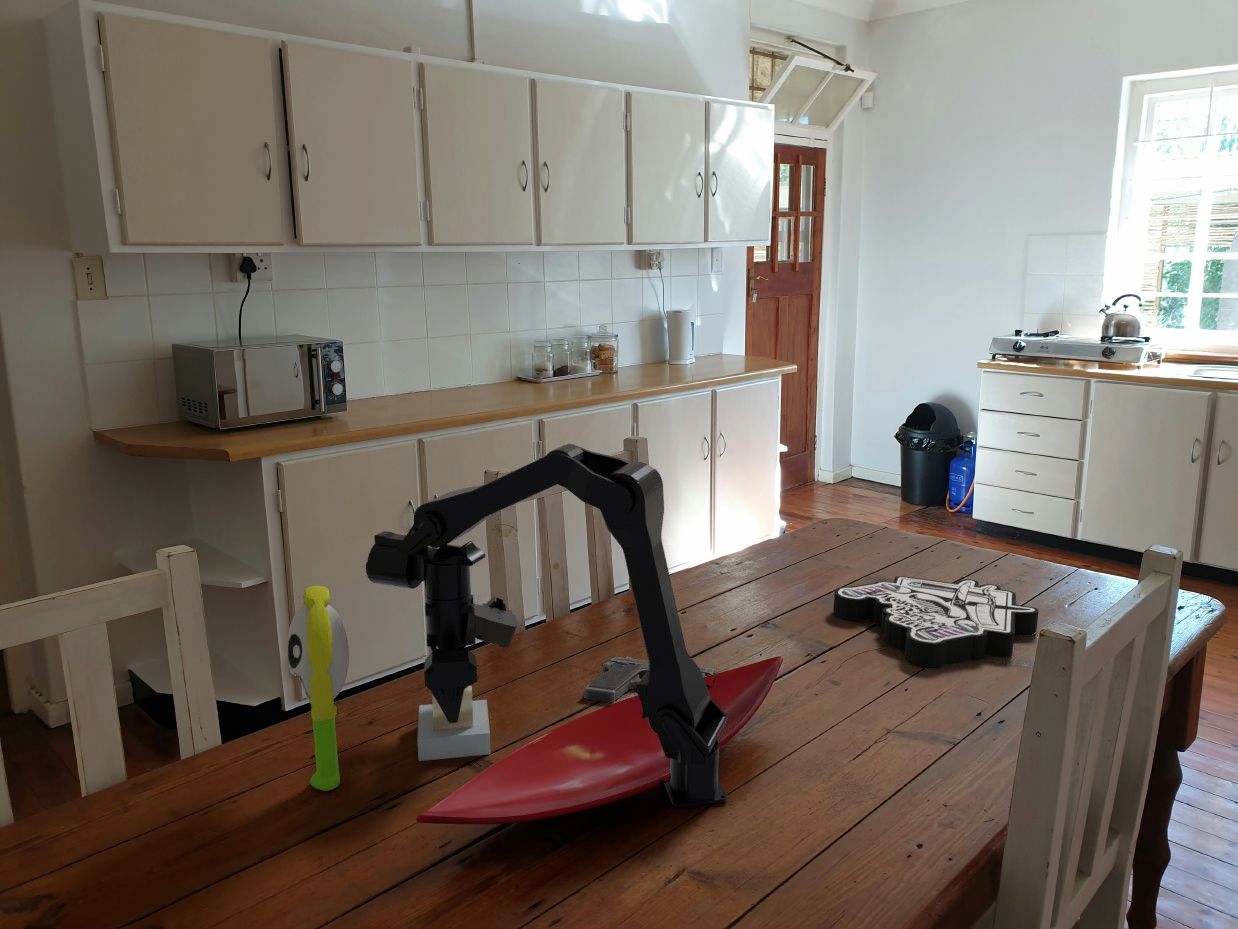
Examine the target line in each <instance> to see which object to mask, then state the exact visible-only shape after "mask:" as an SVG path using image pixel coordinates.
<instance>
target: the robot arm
mask: <svg viewBox="0 0 1238 929" xmlns="http://www.w3.org/2000/svg"><path fill="white" fill-rule="evenodd" d="M557 485H558V486H560V487H563V488H565V489H566V490H568V491H569V492H570V493H571V494H573V496H575V497H576V498H578V499H579V500H580V501H581V502H583V503H584V504H587V505H590V506H591V507H594V508H596V509H599V510H600V513H601V516H602V518H603V521H604V523H605V526H606V529H607V530H608V532H609V533H610V534H611V535H612V537H613V538H614V540H615V541H616V542H617V543H618V544H619V546H620V548H621V550H622V552H623V555H624V561H625V565H626V569H627V572H628V573H627V574H628V577H629V582H630V586H631V591H632V595H633V599H634V600H633V601H634V604H635V608H636V613H637V618H638V622H639V626H640V630H641V634H642V637H643V638H642V639H643V643H644V644H643V645H644V647H645V651H646V655H647V661H649V670H648V671H647V672H646V674H645V675H644V676H643V678H642V679H641V680H640V681H639V683H638V684H637V685H636V688H635V689H636V691H637V695H638V698H639V700H640V704H641V708H642V712H641V714H642V715H641V719H642V720H645V719H647V723H648V725H649V728H650V729H651V731H652V732H653V733H654V734H656V735H657V737H658V739H659V741H660V745H661V748H662V751H663V754H664V757H666V759H670V764H669V765H670V766H669V767H670V768H669V773H670V775H671V779H670V781H668V782H666V783H663V785H664V787H665V790H666V792H667V795H668V797H669V799H670V801H671V804H672V806H673V807H674V808H683V807H693V806H694V807H695V806H700V805H701V806H702V805H703V806H704V805H710V804H720V803H725V802H727V801H728V796H727V793H725V790H724V788H723V786H722V785H721V782H720V781H719V763H720V762H719V760H720V759H719V758H720V756H719V754H720V742H719V741H718V737H719V736H720V735H721V734H720V733H722V732H723V730H724V728H725V725H726V723H727V721H728V718H729V716H728V715H727V713H726V712H725V711H724V710H723V708H721V706H719V705H718V703H717V701H715V700H714V699H713V698H712V697H711V696H710V695H711V694H710V691H709V689H708V686H706V683H705V681H704V678H703V676H702V673H701V671H700V669H699V668H700V667H699V666H698V664H697V663H696V662H695V661H694V659H693V658H692V657H691V656H690V655H689V652H688V650H687V648H686V642H685V638H684V634H683V629H682V626H681V621H680V616H679V612H678V606H677V603H676V600H675V599H676V598H675V594H674V590H673V589H674V588H673V586H672V581H671V577H670V572H669V568H668V563H667V559H666V554H665V553H666V552H665V548H664V545H663V539H662V532H663V524H664V515H665V501H664V500H665V499H664V498H665V497H664V482H663V478H662V476H661V474H660V472H659V471H658V470H657V468H654V467H653V466H651V465H650V464H648V463H646V462H642V461H632V462H629V461H627V460H625V459H622V458H620V457H617V456H612V455H608V454H603V453H599V452H595V451H590V450H588V449H586V448H583V447H581V446H579V445H575V444H573V443H566V444H563V445H561V446H559V447H557V448H555V449H553V450H551V451H549V452H548V453H546V454H545V455H544V456H543V457H541V458H537V460H534V461H532V462H529V463H528V464H526V465H524V466H521V467H519V468H517V469H515V470H513V471H511V472H509V473H507V474H505V475H502V476H501V477H498V478H496V479H494V480H492V481H489V482H488V483H485V484H481V485H476V486H470V487H464V488H461V489H456V490H453V491H449V492H446V493H444V494H441V495H439V496H438V497H435V498H434V499H431V500H428V501H427V502H425V503H423V504H420V505H418V507H417V508H416V509H415V511H414V517H413V525H412V526H411V527H410V529H409V531H408V532H407V534H399V533H395V532H391V531H388V530H387V531H386V530H383V531H381V532H379V533H377V534H375V535H374V544H373V546H372V547H371V548H370V550H369V553H368V557H367V562H365V572H366V576H367V578H368V580H369V581H370V582H372V583H373V584H379V585H384V586H390V587H392V586H393V587H397V588H405V589H410V590H411V589H412V590H413V589H416V588H418V587H419V586H420V585H421V584H422V582H424V595H425V596H424V597H425V598H424V599H425V600H424V601H425V603H424V604H425V605H424V613H425V618H426V621H425V622H426V623H425V624H426V647H427V648H430V650H431V653H430V654H429V655H428V656H427V657H426V658H425V659H424V668H423V669H424V670H423V672H424V674H423V675H424V687H426V688H427V689H428V690H429V691H430V692H431V695H432V694H433V696H434V697H435V699H436V701H437V702H438V704H439V706H440V708H441V709H442V711H443V713H444V715H445V717H446V718H447V720H448V722H449V723H457V722H458V718H459V713H460V708H461V703H462V698H463V693H464V690H465V689H466V688H467V687H468V686H471V685H472V686H473V685H474V684H475V683H478V667H477V666H478V665H477V656H476V655H475V654H474V653H473V651H471V650H469V649H465V648H467V646H475V645H477V644H476V639H477V640H478V641H479V640H480V641H482V642H484V643H485V642H486V643H490V644H494V645H497V646H499V647H500V648H503V649H509V648H510V646H511V644H512V640H513V639H514V636H515V632H516V630H517V627H518V621H517V617H516V615H515V614H514V613H513V611H512V610H511V609H508V610H507V606H506V601H505V597H500V596H497V595H494V596H493V597H491V598H490V599H489V600H488V601H487V602H486V603H484V602H483V603H482V604H478V603H474V594H472V589H471V588H472V587H471V567H472V566H473V565H476V564H477V563H478V562H480V561H482V560H483V559H485V558H486V553H485V552H484V551H483V550H482V549H481V548H479V547H478V546H476V544H475V543H474V541H473V540H470V541H468V542H465V543H464V544H462V545H455V544H450V543H452V542H454V541H456V540H457V539H459V538H461V537H462V536H464V535H466V534H467V533H469V532H471V531H472V530H474V529H475V528H477V526H479V525H481V524H482V523H483V522H485V521H486V520H487V519H488V518H489V517H491V516H492V515H493V514H495V513H497V512H499V511H502V510H504V509H506V508H508V507H511V506H513V505H515V504H517V503H519V502H521V501H524V500H526V499H528V498H531V497H533V496H534V495H537V494H539V493H542V492H544V491H545V490H546V491H547V490H548V489H550V488H552V487H554V486H557Z"/></svg>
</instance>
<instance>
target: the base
mask: <svg viewBox="0 0 1238 929" xmlns="http://www.w3.org/2000/svg"><path fill="white" fill-rule="evenodd" d="M472 706H473V727H465V728H454V729H443V730H434V725H433V704H431V703H430V704H420V705H418V720H417V722H418V725H417V753H418V762H422V761H433V760H434V761H435V760H442V759H443V760H446V759H454V758H465V757H474V756H475V757H476V756H487V755H491V731H490V721H489V710H488V709H489V708H488V700H487V699H481V700H480V699H479V700H472Z"/></svg>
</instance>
